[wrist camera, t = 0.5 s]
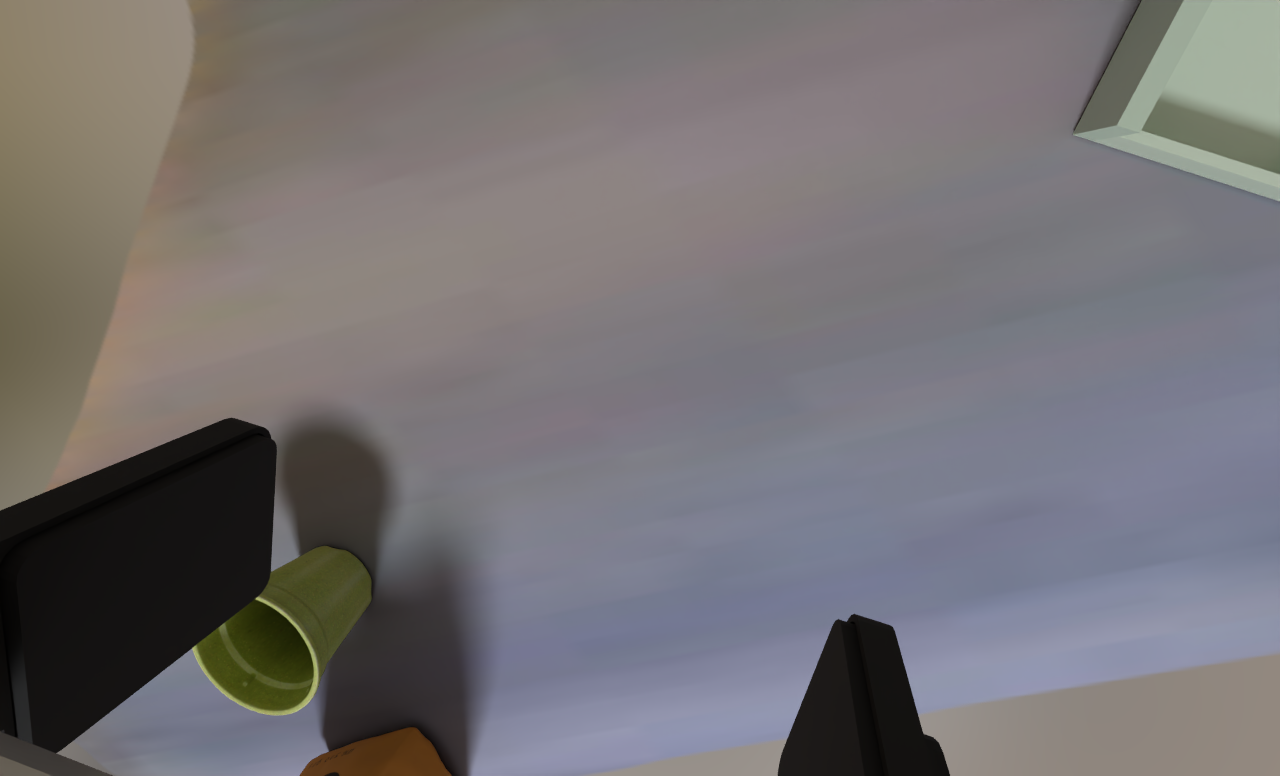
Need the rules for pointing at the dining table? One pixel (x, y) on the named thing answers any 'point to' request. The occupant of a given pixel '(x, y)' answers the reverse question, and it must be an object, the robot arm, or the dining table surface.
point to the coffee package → (381, 757)
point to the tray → (1196, 91)
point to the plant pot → (287, 632)
